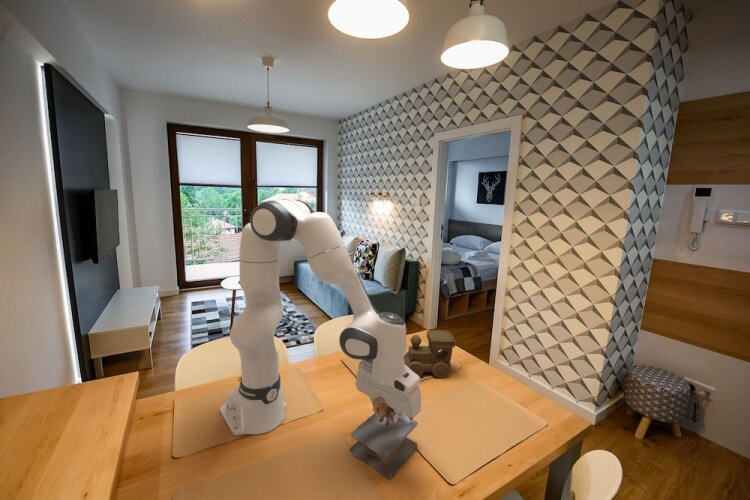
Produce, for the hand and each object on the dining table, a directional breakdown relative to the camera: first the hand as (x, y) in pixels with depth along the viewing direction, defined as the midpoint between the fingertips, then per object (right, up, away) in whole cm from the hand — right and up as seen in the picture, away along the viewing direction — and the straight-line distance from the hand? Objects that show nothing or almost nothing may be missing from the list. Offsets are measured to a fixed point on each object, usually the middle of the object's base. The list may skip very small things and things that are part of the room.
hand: (385, 415), depth 91 cm
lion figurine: (+2, -3, +1) cm, 4 cm away
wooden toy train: (+19, -5, +45) cm, 49 cm away
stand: (0, -11, +2) cm, 11 cm away
